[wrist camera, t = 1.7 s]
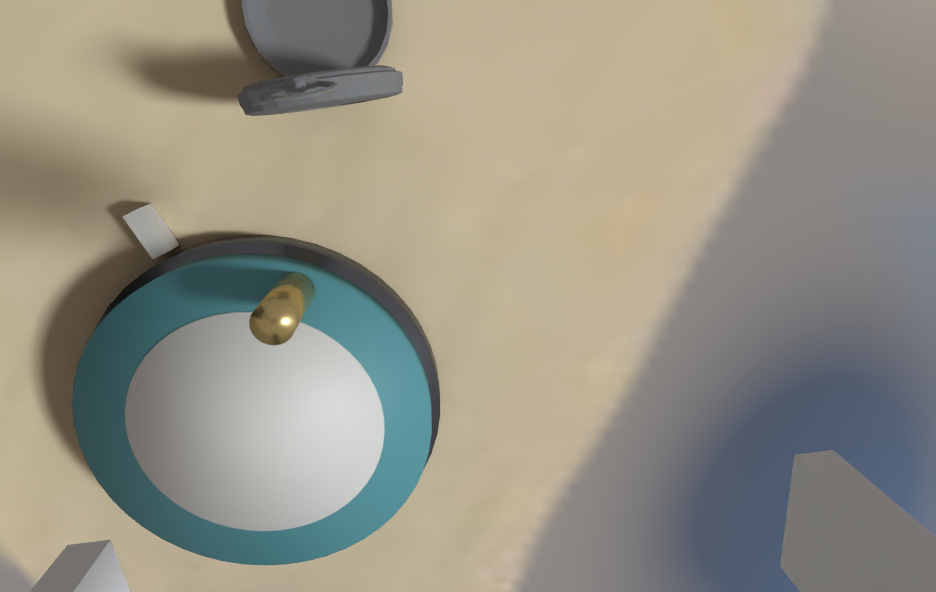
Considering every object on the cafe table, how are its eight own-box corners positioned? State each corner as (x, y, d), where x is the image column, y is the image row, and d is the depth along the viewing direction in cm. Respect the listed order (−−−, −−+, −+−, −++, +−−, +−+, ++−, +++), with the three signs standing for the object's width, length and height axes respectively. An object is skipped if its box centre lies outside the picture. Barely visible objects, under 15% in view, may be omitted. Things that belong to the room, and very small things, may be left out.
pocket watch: (318, -105, 24) (253, -237, 15) (447, 52, 27) (461, 24, 17) (194, 29, 26) (61, -13, 16) (328, 168, 28) (280, 200, 19)
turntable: (378, 572, 34) (370, 664, 29) (68, 507, 31) (-10, 596, 26) (476, 313, 29) (489, 363, 24) (117, 204, 26) (33, 232, 20)
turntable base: (-15, 289, 29) (-38, 298, 27) (308, 122, 27) (301, 123, 26) (225, 573, 36) (217, 593, 34) (491, 453, 34) (494, 467, 33)
